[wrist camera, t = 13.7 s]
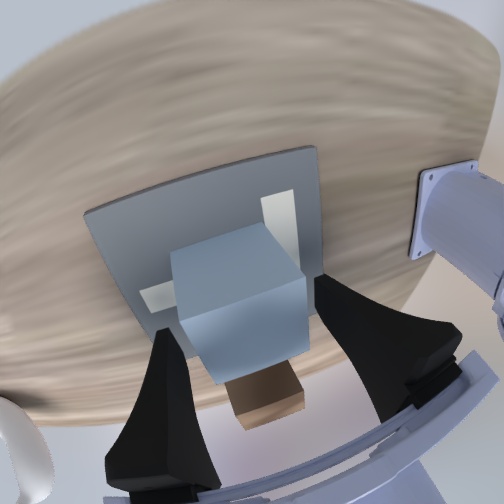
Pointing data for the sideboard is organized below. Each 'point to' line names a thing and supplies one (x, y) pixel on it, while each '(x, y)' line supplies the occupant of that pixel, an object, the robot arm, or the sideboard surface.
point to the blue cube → (241, 302)
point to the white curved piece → (26, 453)
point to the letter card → (208, 227)
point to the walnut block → (265, 395)
